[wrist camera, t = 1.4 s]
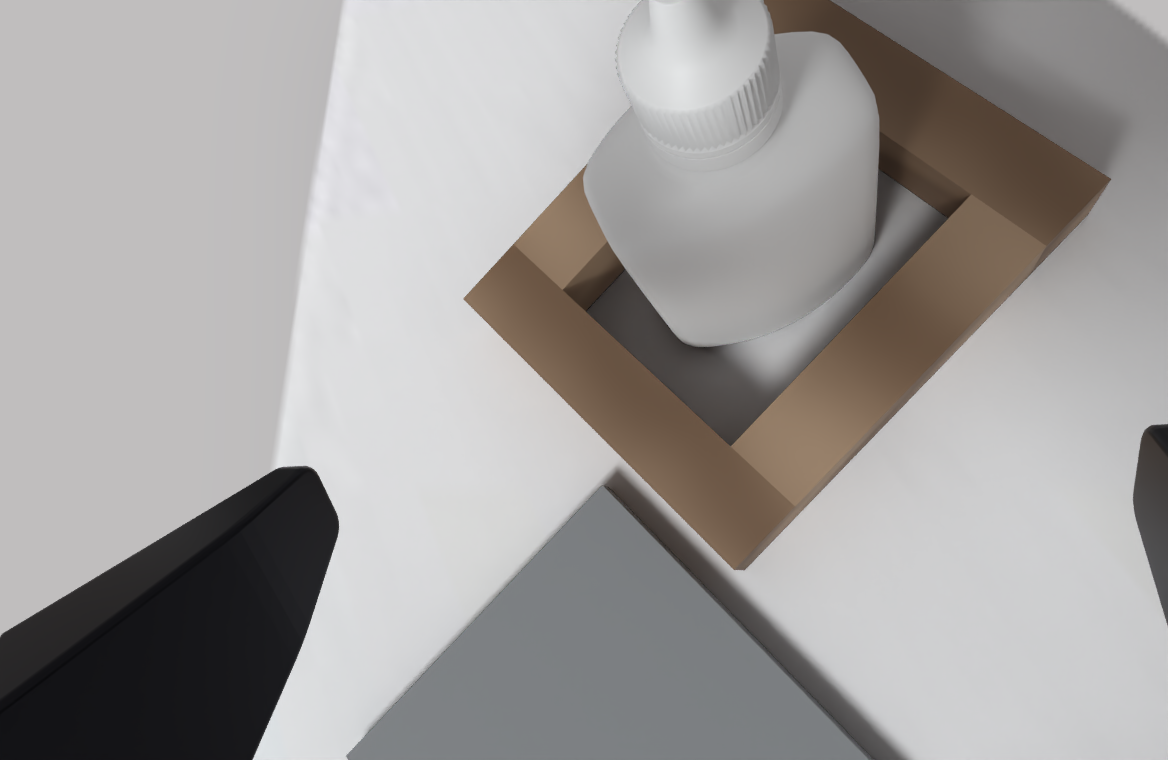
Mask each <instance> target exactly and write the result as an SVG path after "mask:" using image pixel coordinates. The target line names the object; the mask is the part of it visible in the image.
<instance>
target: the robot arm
mask: <svg viewBox="0 0 1168 760" xmlns="http://www.w3.org/2000/svg"><path fill="white" fill-rule="evenodd" d="M1133 505H1134V512H1135V517H1136V521H1137V524H1138V528H1139V531H1140V535H1141V538H1142V541H1143V545H1144V548H1145V551H1146V555H1147V558H1148V561H1149V565H1150V568H1151V571H1152V575H1153V578H1154V582H1155V585H1156V588H1157V592H1158V595H1159V598H1160V602H1161V605H1162V608H1163V612H1164V615H1165V618H1166V622H1167V625H1168V424H1162V425H1151V426H1150V427H1148V428H1147V429H1146V430H1145V431H1144V433H1143V435H1142V438H1141V443H1140V450H1139V457H1138V464H1137V471H1136V478H1135V484H1134V492H1133ZM338 532H339V520H338V516H337V513H336V511H335V509H334V507H333V505H332V503H331V500H330V498H329V496H328V494H327V492H326V490H325V488H324V486H323V484H322V482H321V480H320V477H319V475H318V474H317V472H316V471H315V470H314V469H312V468H311V467H308V466H293V467H281V468H278V469H276V470H274V471H272V472H270V473H269V474H267V475H265V476H264V477H262V478H260V479H259V480H257V481H256V482H254V483H252V484H251V485H249V486H248V487H246V488H244V489H242V490H241V491H239V492H237V493H236V494H234V495H232V496H231V497H229V498H228V499H226V500H224V501H222V502H221V503H219V504H217V505H216V506H214V507H213V508H211V509H209V510H208V511H206V512H204V513H202V514H201V515H199V516H197V517H196V518H194V519H192V520H191V521H189V522H187V523H186V524H184V525H182V526H181V527H179V528H177V529H176V530H174V531H172V532H171V533H169V534H167V535H166V536H164V537H162V538H161V539H159V540H157V541H156V542H154V543H152V544H151V545H149V546H147V547H146V548H144V549H143V550H141V551H139V552H137V553H136V554H134V555H132V556H131V557H129V558H127V559H126V560H124V561H122V562H121V563H119V564H117V565H116V566H114V567H113V568H111V569H109V570H107V571H106V572H104V573H102V574H101V575H99V576H97V577H96V578H94V579H92V580H91V581H89V582H88V583H86V584H84V585H83V586H81V587H79V588H78V589H76V590H74V591H73V592H71V593H69V594H68V595H66V596H64V597H63V598H61V599H59V600H58V601H56V602H54V603H53V604H51V605H49V606H48V607H46V608H44V609H43V610H41V611H39V612H38V613H36V614H34V615H33V616H31V617H29V618H28V619H26V620H24V621H23V622H21V623H19V624H18V625H16V626H14V627H13V628H11V629H9V630H8V631H6V632H4V633H3V634H2V635H1V637H0V760H253V757H254V755H255V753H256V751H257V748H258V746H259V744H260V741H261V739H262V737H263V734H264V732H265V730H266V728H267V725H268V723H269V721H270V718H271V716H272V714H273V712H274V709H275V707H276V705H277V702H278V700H279V698H280V695H281V693H282V691H283V689H284V686H285V684H286V682H287V679H288V677H289V675H290V673H291V670H292V668H293V666H294V663H295V661H296V659H297V656H298V654H299V651H300V649H301V646H302V644H303V641H304V638H305V635H306V633H307V630H308V627H309V624H310V621H311V618H312V615H313V612H314V609H315V605H316V602H317V599H318V596H319V593H320V590H321V587H322V584H323V581H324V577H325V574H326V571H327V568H328V565H329V562H330V559H331V556H332V553H333V550H334V546H335V543H336V540H337V537H338Z"/></svg>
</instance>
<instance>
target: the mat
mask: <svg viewBox="0 0 1168 760" xmlns="http://www.w3.org/2000/svg"><path fill="white" fill-rule="evenodd" d="M347 758H348V759H349V760H873V758H872V757H871V756H870V755H869V754H868V753H867V752H866V751H865V750H864V749H863V748H862V747H861V746H860V745H859V744H858V743H857V742H856V741H855V740H854V739H853V738H852V737H851V736H850V735H849V734H848V733H847V732H846V731H845V730H844V729H843V728H842V727H841V726H840V725H839V724H838V723H837V722H836V720H835V719H834V718H833V717H832V716H831V715H830V714H829V713H828V712H827V711H826V710H825V709H824V708H823V707H822V706H821V705H820V704H819V703H818V702H817V701H816V700H815V699H814V698H813V697H812V696H811V695H810V694H809V693H808V692H807V691H806V690H805V689H804V688H803V687H802V686H801V685H800V683H799V682H798V681H797V680H796V679H795V678H794V677H793V676H792V675H791V674H790V673H789V672H788V671H787V670H786V669H785V668H784V667H783V666H782V665H781V664H780V663H779V662H778V661H777V660H776V659H775V658H774V657H773V656H772V655H771V654H770V653H769V652H768V651H767V650H766V649H765V648H764V646H763V645H762V644H761V643H760V642H759V641H758V640H757V639H756V638H755V637H754V636H753V635H752V634H751V633H750V632H749V631H748V630H747V629H746V628H745V627H744V626H743V625H742V624H741V623H740V622H739V621H738V620H737V619H736V618H735V617H734V616H733V615H732V614H731V613H730V612H729V611H728V610H727V608H726V607H725V606H724V605H723V604H722V603H721V602H720V601H719V600H718V599H717V598H716V597H715V596H714V595H713V594H712V593H711V592H710V591H709V590H708V589H707V588H706V587H705V586H704V585H703V584H702V583H701V582H700V581H699V580H698V579H697V578H696V577H695V576H694V575H693V574H692V573H691V571H690V570H689V569H688V568H687V567H686V566H685V565H684V564H683V563H682V562H681V561H680V560H679V559H678V558H677V557H676V556H675V555H674V554H673V553H672V552H671V551H670V550H669V549H668V548H667V547H666V546H665V545H664V544H663V543H662V542H661V541H660V540H659V539H658V538H657V537H656V536H655V534H654V533H653V532H652V531H651V530H650V529H649V528H648V527H647V526H646V525H645V524H644V523H643V522H642V521H641V520H640V519H639V518H638V517H637V516H636V515H635V514H634V513H633V512H632V511H631V510H630V509H629V508H628V507H627V506H626V505H625V504H624V503H623V502H622V501H621V500H620V499H619V498H618V496H617V495H616V494H615V493H614V492H613V491H612V490H611V489H610V488H609V487H606V486H603V485H602V486H601V487H600V488H599V489H598V490H597V491H596V492H595V494H594V495H593V496H592V497H591V498H590V499H589V500H588V501H587V502H586V503H585V504H584V505H583V506H582V507H581V508H580V509H579V510H578V511H577V513H576V514H575V515H574V516H573V517H572V518H571V519H570V520H569V521H568V522H567V523H566V524H565V525H564V526H563V527H562V528H561V529H560V530H559V532H558V533H557V534H556V535H555V536H554V537H553V538H552V539H551V540H550V541H549V542H548V543H547V544H546V545H545V546H544V547H543V548H542V550H541V551H540V552H539V553H538V554H537V555H536V556H535V557H534V558H533V559H532V560H531V561H530V562H529V563H528V564H527V565H526V566H525V567H524V569H523V570H522V571H521V572H520V573H519V574H518V575H517V576H516V577H515V578H514V579H513V580H512V581H511V582H510V583H509V584H508V585H507V586H506V588H505V589H504V590H503V591H502V592H501V593H500V594H499V595H498V596H497V597H496V598H495V599H494V600H493V601H492V602H491V603H490V604H489V606H488V607H487V608H486V609H485V610H484V611H483V612H482V613H481V614H480V615H479V616H478V617H477V618H476V619H475V620H474V621H473V622H472V623H471V625H470V626H469V627H468V628H467V629H466V630H465V631H464V632H463V633H462V634H461V635H460V636H459V637H458V638H457V639H456V640H455V641H454V643H453V644H452V645H451V646H450V647H449V648H448V649H447V650H446V651H445V652H444V653H443V654H442V655H441V656H440V657H439V658H438V659H437V660H436V662H435V663H434V664H433V665H432V666H431V667H430V668H429V669H428V670H427V671H426V672H425V673H424V674H423V675H422V676H421V677H420V678H419V679H418V681H417V682H416V683H415V684H414V685H413V686H412V687H411V688H410V689H409V690H408V691H407V692H406V693H405V694H404V695H403V696H402V697H401V699H400V700H399V701H398V702H397V703H396V704H395V705H394V706H393V707H392V708H391V709H390V710H389V711H388V712H387V713H386V714H385V715H384V716H383V718H382V719H381V720H380V721H379V722H378V723H377V724H376V725H375V726H374V727H373V728H372V729H371V730H370V731H369V732H368V733H367V734H366V735H365V737H364V738H363V739H362V740H361V741H360V742H359V743H358V744H357V745H356V746H355V747H354V748H353V749H352V750H351V751H350V752H349V753H348V755H347Z"/></svg>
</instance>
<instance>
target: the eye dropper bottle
mask: <svg viewBox="0 0 1168 760" xmlns="http://www.w3.org/2000/svg"><path fill="white" fill-rule="evenodd" d="M618 39H619V41H618V43H617V45H616V46H617V50H616V52H615V53H616V55H617V57H616V59H615V61H616V63H617V65H616V69H617V71H618V73H617V74H618V76H619V79H620V82H621V85H622V87H623V89H624V91H625V93H626V95H627V97H628V99H629V101H630V103H631V105H632V106H631V107H630V108H629V109H628V110H627V111H626V112H625V113H624V114H623V115H622V117H621V118H620V119H619V120H618V121H617V122H616V124H615V125H614V126H613V127H612V128H611V130H610V131H609V132H608V133H607V135H606V136H605V138H604V139H603V140H602V142H601V143H600V144H599V146H598V147H597V149H596V150H595V152H594V153H593V155H592V157H591V158H590V160H589V162H588V164H587V167H586V170H585V173H584V175H583V183H584V192H585V195H586V197H587V200H588V202H589V205H590V207H591V209H592V211H593V213H594V215H595V217H596V219H597V221H598V223H599V225H600V227H601V229H602V231H603V233H604V235H605V238H606V239H607V241H608V243H609V245H610V246H611V248H612V250H613V251H614V253H615V254H616V256H617V257H618V259H619V260H620V262H621V263H622V265H623V266H624V268H625V269H626V270H627V272H628V273H629V274H630V276H631V277H632V278H633V280H634V281H635V282H636V284H637V285H638V286H639V288H640V289H641V291H642V292H643V293H644V295H645V296H646V297H647V299H648V300H649V301H650V303H651V304H652V305H653V307H654V308H655V309H656V310H657V312H658V313H659V314H660V316H661V317H662V318H663V320H664V321H665V322H666V324H667V325H668V326H669V328H670V329H671V330H672V332H673V333H674V334H675V335H676V336H677V337H678V338H679V339H680V340H681V341H682V342H683V343H684V344H687V345H691V346H694V347H713V346H721V345H728V344H733V343H738V342H743V341H747V340H751V339H754V338H757V337H761V336H763V335H766V334H769V333H772V332H774V331H777V330H779V329H781V328H783V327H786V326H788V325H790V324H792V323H794V322H795V321H797V320H799V319H801V318H803V317H804V316H806V315H807V314H809V313H811V312H812V311H814V310H815V309H817V308H818V307H819V306H821V305H822V304H823V303H825V302H826V301H827V300H829V299H830V298H831V297H832V296H833V295H834V294H836V293H837V292H838V291H839V290H840V289H841V288H842V287H843V286H844V285H845V284H846V283H847V282H848V281H849V280H850V279H851V278H852V277H853V276H854V275H855V274H856V273H857V272H858V271H859V270H860V268H861V267H862V266H863V264H864V263H865V262H866V260H867V259H868V258H869V256H870V254H871V251H872V248H873V245H874V239H875V223H876V205H877V186H878V164H879V114H878V109H877V104H876V99H875V95H874V93H873V91H872V89H871V88H870V86H869V84H868V82H867V80H866V79H865V77H864V75H863V74H862V72H861V71H860V69H859V68H858V66H857V65H856V63H855V62H854V60H853V59H852V57H851V56H850V54H849V53H848V52H847V50H846V49H845V48H844V47H843V45H842V44H841V43H840V42H839V41H837V40H836V39H834V38H833V37H831V36H830V35H828V34H824V33H818V32H812V31H809V32H790V33H781V34H774V30H773V23H772V19H771V16H770V12H768V8H767V6H766V5H765V4H764V0H642V1H641V2H640V3H638V5H637V6H636V7H635V8H634V9H633V10H632V13H631V14H630V15H629V16H628V19H627V20H626V22H625V23H624V27H623V28H622V29H621V34H620V36H619V37H618Z"/></svg>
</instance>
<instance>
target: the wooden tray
mask: <svg viewBox="0 0 1168 760" xmlns="http://www.w3.org/2000/svg"><path fill="white" fill-rule="evenodd" d="M764 4H765V5H766V6H767V8H768V12H770V16H771V19H772V23H773V30H774V34H781V33H790V32H809V31H812V32H818V33H824V34H828V35H830V36H831V37H833V38H834V39H836V40H837V41H839V42H840V43H841V44H842V45H843V47H844V48H845V49H846V50H847V52H848V53H849V54H850V56H851V57H852V59H853V60H854V62H855V63H856V65H857V66H858V68H859V69H860V71H861V72H862V74H863V75H864V77H865V79H866V80H867V82H868V84H869V86H870V88H871V89H872V91H873V93H874V95H875V99H876V104H877V109H878V114H879V164H878V169H880V170H881V171H883V172H884V173H885V174H887V175H888V176H890V177H891V178H893V179H894V180H895V181H897V182H898V183H900V184H901V185H902V186H904V187H905V188H907V189H908V190H909V191H911V192H912V193H914V194H915V195H917V196H918V197H919V198H921V199H922V200H924V201H925V202H926V203H928V204H929V205H931V206H932V207H933V208H935V209H936V210H938V211H939V212H941V213H942V214H943V215H945V216H946V217H948V219H947V220H946V221H945V222H944V223H943V225H942V226H941V227H940V228H939V229H938V230H937V231H936V232H935V233H934V234H933V235H932V236H931V237H930V238H929V239H928V240H927V241H926V242H925V243H924V244H923V245H922V247H921V248H920V249H919V250H918V251H917V252H916V253H915V254H914V255H913V256H912V257H911V258H910V259H909V260H908V261H907V262H906V263H905V264H904V265H903V266H902V268H901V269H900V270H899V271H898V272H897V273H896V274H895V275H894V276H893V277H892V278H891V279H890V280H889V281H888V282H887V283H886V284H885V285H884V286H883V287H882V288H881V290H880V291H879V292H878V293H877V294H876V295H875V296H874V297H873V298H872V299H871V300H870V301H869V302H868V303H867V304H866V305H865V306H864V307H863V308H862V309H861V310H860V312H859V313H858V314H857V315H856V316H855V317H854V318H853V319H852V320H851V321H850V322H849V323H848V324H847V325H846V326H845V327H844V328H843V329H842V330H841V331H840V332H839V334H838V335H837V336H836V337H835V338H834V339H833V340H832V341H831V342H830V343H829V344H828V345H827V346H826V347H825V348H824V349H823V350H822V351H821V352H820V353H819V354H818V356H817V357H816V358H815V359H814V360H813V361H812V362H811V363H810V364H809V365H808V366H807V367H806V368H805V369H804V370H803V371H802V372H801V373H800V374H799V375H798V376H797V378H796V379H795V380H794V381H793V382H792V383H791V384H790V385H789V386H788V387H787V388H786V389H785V390H784V391H783V392H782V393H781V394H780V395H779V396H778V397H777V398H776V400H775V401H774V402H773V403H772V404H771V405H770V406H769V407H768V408H767V409H766V410H765V411H764V412H763V413H762V414H761V415H760V416H759V417H758V418H757V419H756V421H755V422H754V423H753V424H752V425H751V426H750V427H749V428H748V429H747V430H746V431H745V432H744V433H743V434H742V435H741V436H740V437H739V438H738V439H737V440H736V441H735V443H734V444H733V445H732V446H730V445H729V444H727V443H726V442H725V441H724V440H723V439H722V438H721V437H720V436H719V435H718V434H717V433H716V432H715V431H713V430H712V429H711V428H710V427H709V426H708V425H707V424H706V423H705V422H704V421H703V420H702V419H701V418H700V417H698V416H697V415H696V414H695V413H694V412H693V411H692V410H691V409H690V408H689V407H688V406H687V405H686V404H684V403H683V402H682V401H681V400H680V399H679V398H678V397H677V396H676V395H675V394H674V393H673V392H672V391H671V390H669V389H668V388H667V387H666V386H665V385H664V384H663V383H662V382H661V381H660V380H659V379H658V378H657V377H655V376H654V375H653V374H652V373H651V372H650V371H649V370H648V369H647V368H646V367H645V366H644V365H643V364H642V363H640V362H639V361H638V360H637V359H636V358H635V357H634V356H633V355H632V354H631V353H630V352H629V351H628V350H626V349H625V348H624V347H623V346H622V345H621V344H620V343H619V342H618V341H617V340H616V339H615V338H614V337H613V336H611V335H610V334H609V333H608V332H607V331H606V330H605V329H604V328H603V327H602V326H601V325H600V324H599V323H597V322H596V321H595V320H594V319H593V318H592V317H591V316H590V315H589V314H588V313H587V312H586V310H587V309H588V308H589V307H590V306H591V305H592V304H593V303H594V302H595V301H596V300H597V299H598V297H599V296H600V295H601V294H602V293H603V292H604V291H605V290H606V289H607V288H608V287H609V286H610V285H611V284H612V282H613V281H614V280H615V279H616V278H617V277H618V276H619V275H620V274H621V273H622V272H623V271H624V270H625V268H624V266H623V265H622V263H621V262H620V260H619V259H618V257H617V256H616V254H615V253H614V251H613V250H612V248H611V246H610V245H609V243H608V241H607V239H606V238H605V235H604V233H603V231H602V229H601V227H600V225H599V223H598V221H597V219H596V217H595V215H594V213H593V211H592V209H591V207H590V205H589V202H588V200H587V197H586V195H585V192H584V183H583V175H584V173H585V170H586V167H587V165H586V166H585V167H584V168H583V169H582V170H581V171H580V172H579V174H578V175H577V176H576V177H575V178H574V179H573V180H572V181H571V182H570V183H569V184H568V185H567V187H566V188H565V189H564V190H563V191H562V192H561V193H560V194H559V195H558V196H557V197H556V199H555V200H554V201H553V202H552V203H551V204H550V205H549V206H548V207H547V208H546V209H545V210H544V212H543V213H542V214H541V215H540V216H539V217H538V218H537V219H536V220H535V221H534V222H533V224H532V225H531V226H530V227H529V228H528V229H527V230H526V231H525V232H524V233H523V234H522V236H521V237H520V238H519V239H518V240H517V241H516V242H515V243H514V244H513V245H512V246H511V247H510V249H509V250H508V251H507V252H506V253H505V254H504V255H503V256H502V257H501V258H500V259H499V261H498V262H497V263H496V264H495V265H494V266H493V267H492V268H491V269H490V270H489V271H488V272H487V274H486V275H485V276H484V277H483V278H482V279H481V280H480V281H479V282H478V283H477V284H476V286H475V287H474V288H473V289H472V290H471V291H470V292H469V293H468V294H467V295H466V296H465V297H464V300H465V301H466V302H467V303H468V304H469V305H470V306H471V307H472V308H473V309H474V310H475V311H476V312H477V313H478V314H479V315H480V316H481V317H482V318H483V319H484V320H485V321H486V322H487V323H488V324H489V325H490V326H491V327H492V328H493V329H494V330H495V331H496V332H497V333H498V334H499V335H500V336H501V337H502V338H503V339H504V340H505V341H506V342H507V343H508V344H509V345H510V346H511V347H512V348H513V349H514V350H515V351H516V352H517V353H518V354H519V355H520V356H521V357H522V358H523V359H524V360H525V361H526V362H527V363H528V364H529V365H530V366H531V367H532V368H533V369H534V370H535V371H536V372H537V373H538V374H539V375H540V376H541V377H542V378H543V379H544V380H545V381H546V382H547V383H548V384H549V385H550V386H551V387H552V388H553V389H554V390H555V391H556V392H557V393H558V394H559V395H560V396H561V397H562V398H563V399H564V400H565V401H566V402H567V403H568V404H569V405H570V406H571V407H572V408H573V409H574V410H575V411H576V412H577V413H578V414H579V415H580V416H581V417H582V418H583V419H584V420H585V421H586V422H587V423H588V424H589V425H590V426H591V427H592V428H593V429H594V430H595V431H596V432H597V433H598V434H599V435H600V436H601V437H602V438H603V439H604V440H605V441H606V442H607V443H608V444H609V445H610V446H611V447H612V448H613V449H614V450H615V451H616V452H617V453H618V454H619V455H620V456H621V457H622V458H623V459H624V460H625V461H626V462H627V463H628V464H629V465H630V466H631V467H632V468H633V469H634V470H635V471H636V472H637V473H638V474H639V475H640V476H641V477H642V478H643V479H644V480H645V481H646V482H647V483H648V484H649V485H650V486H651V487H652V488H653V489H654V490H655V491H656V492H657V493H658V494H659V495H660V496H661V497H662V498H663V499H664V500H665V501H666V502H667V503H668V504H669V505H670V506H671V507H672V508H673V509H674V510H675V511H676V512H677V513H678V514H679V515H680V516H681V517H682V518H683V519H684V520H685V521H686V522H687V523H688V524H689V525H690V526H691V527H692V528H693V529H694V530H695V531H696V532H697V533H698V534H699V535H700V536H701V537H702V538H703V539H704V540H705V541H706V542H707V543H708V544H709V545H710V546H711V547H712V548H713V549H714V550H715V551H716V552H717V553H718V554H719V555H720V556H721V557H722V558H723V559H724V560H725V561H726V562H727V563H728V564H729V565H730V566H731V567H732V568H733V569H734V570H745V569H746V568H747V567H748V566H749V565H750V564H751V563H752V562H753V561H754V560H755V559H756V558H757V557H758V556H759V555H760V554H761V553H762V552H763V551H764V550H765V549H766V547H767V546H768V545H769V544H770V543H771V542H772V541H773V540H774V539H775V538H776V537H777V536H778V535H779V534H780V533H781V532H782V531H783V530H784V529H785V528H786V527H787V526H788V525H789V524H790V523H791V522H792V521H793V520H794V518H795V517H796V516H797V515H798V514H799V513H800V512H801V511H802V510H803V509H804V508H805V507H806V506H807V505H808V504H809V503H810V502H811V501H812V500H813V499H814V498H815V497H816V496H817V495H818V494H819V493H820V492H821V491H822V489H823V488H824V487H825V486H826V485H827V484H828V483H829V482H830V481H831V480H832V479H833V478H834V477H835V476H836V475H837V474H838V473H839V472H840V471H841V470H842V469H843V468H844V467H845V466H846V465H847V464H848V463H849V462H850V460H851V459H852V458H853V457H854V456H855V455H856V454H857V453H858V452H859V451H860V450H861V449H862V448H863V447H864V446H865V445H866V444H867V443H868V442H869V441H870V440H871V439H872V438H873V437H874V436H875V435H876V434H877V433H878V431H879V430H880V429H881V428H882V427H883V426H884V425H885V424H886V423H887V422H888V421H889V420H890V419H891V418H892V417H893V416H894V415H895V414H896V413H897V412H898V411H899V410H900V409H901V408H902V407H903V406H904V405H905V404H906V403H907V401H908V400H909V399H910V398H911V397H912V396H913V395H914V394H915V393H916V392H917V391H918V390H919V389H920V388H921V387H922V386H923V385H924V384H925V383H926V382H927V381H928V380H929V379H930V378H931V377H932V376H933V375H934V374H935V372H936V371H937V370H938V369H939V368H940V367H941V366H942V365H943V364H944V363H945V362H946V361H947V360H948V359H949V358H950V357H951V356H952V355H953V354H954V353H955V352H956V351H957V350H958V349H959V348H960V347H961V346H962V345H963V343H964V342H965V341H966V340H967V339H968V338H969V337H970V336H971V335H972V334H973V333H974V332H975V331H976V330H977V329H978V328H979V327H980V326H981V325H982V324H983V323H984V322H985V321H986V320H987V319H988V318H989V317H990V316H991V314H992V313H993V312H994V311H995V310H996V309H997V308H998V307H999V306H1000V305H1001V304H1002V303H1003V302H1004V301H1005V300H1006V299H1007V298H1008V297H1009V296H1010V295H1011V294H1012V293H1013V292H1014V291H1015V290H1016V289H1017V288H1018V287H1019V285H1020V284H1021V283H1022V282H1023V281H1024V280H1025V279H1026V278H1027V277H1028V276H1029V275H1030V274H1031V273H1032V272H1033V271H1034V270H1035V269H1036V268H1037V267H1038V266H1039V265H1040V264H1041V263H1042V262H1043V261H1044V260H1045V259H1046V258H1047V256H1048V255H1049V254H1050V253H1051V252H1052V251H1053V250H1054V249H1055V248H1056V247H1057V246H1058V245H1059V244H1060V243H1061V242H1062V241H1063V240H1064V239H1065V238H1066V237H1067V236H1068V235H1069V234H1070V233H1071V232H1072V231H1073V230H1074V229H1075V227H1076V226H1077V225H1078V224H1079V223H1080V222H1081V221H1082V220H1083V219H1084V218H1085V217H1086V216H1087V215H1088V214H1089V212H1090V211H1091V209H1092V208H1093V206H1094V205H1095V203H1096V201H1097V200H1098V198H1099V197H1100V195H1101V194H1102V192H1103V191H1104V189H1105V188H1106V186H1107V185H1108V183H1109V181H1110V180H1111V179H1110V178H1109V177H1107V176H1105V175H1104V174H1102V173H1101V172H1099V171H1098V170H1096V169H1094V168H1093V167H1091V166H1090V165H1088V164H1087V163H1085V162H1083V161H1082V160H1080V159H1079V158H1077V157H1076V156H1074V155H1072V154H1071V153H1069V152H1068V151H1066V150H1065V149H1063V148H1061V147H1060V146H1058V145H1057V144H1055V143H1054V142H1052V141H1050V140H1049V139H1047V138H1046V137H1044V136H1042V135H1041V134H1039V133H1038V132H1036V131H1035V130H1033V129H1031V128H1030V127H1028V126H1027V125H1025V124H1024V123H1022V122H1020V121H1019V120H1017V119H1016V118H1014V117H1013V116H1011V115H1009V114H1008V113H1006V112H1005V111H1003V110H1002V109H1000V108H998V107H997V106H995V105H994V104H992V103H991V102H989V101H987V100H986V99H984V98H983V97H981V96H980V95H978V94H976V93H975V92H973V91H972V90H970V89H969V88H967V87H965V86H964V85H962V84H961V83H959V82H958V81H956V80H954V79H953V78H951V77H950V76H948V75H947V74H945V73H943V72H942V71H940V70H939V69H937V68H935V67H934V66H932V65H931V64H929V63H928V62H926V61H924V60H923V59H921V58H920V57H918V56H917V55H915V54H913V53H912V52H910V51H909V50H907V49H906V48H904V47H902V46H901V45H899V44H898V43H896V42H895V41H893V40H891V39H890V38H888V37H887V36H885V35H884V34H882V33H880V32H879V31H877V30H876V29H874V28H873V27H871V26H869V25H868V24H866V23H865V22H863V21H862V20H860V19H858V18H857V17H855V16H854V15H852V14H851V13H849V12H847V11H846V10H844V9H843V8H841V7H840V6H838V5H836V4H835V3H833V2H832V1H830V0H764Z"/></svg>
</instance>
